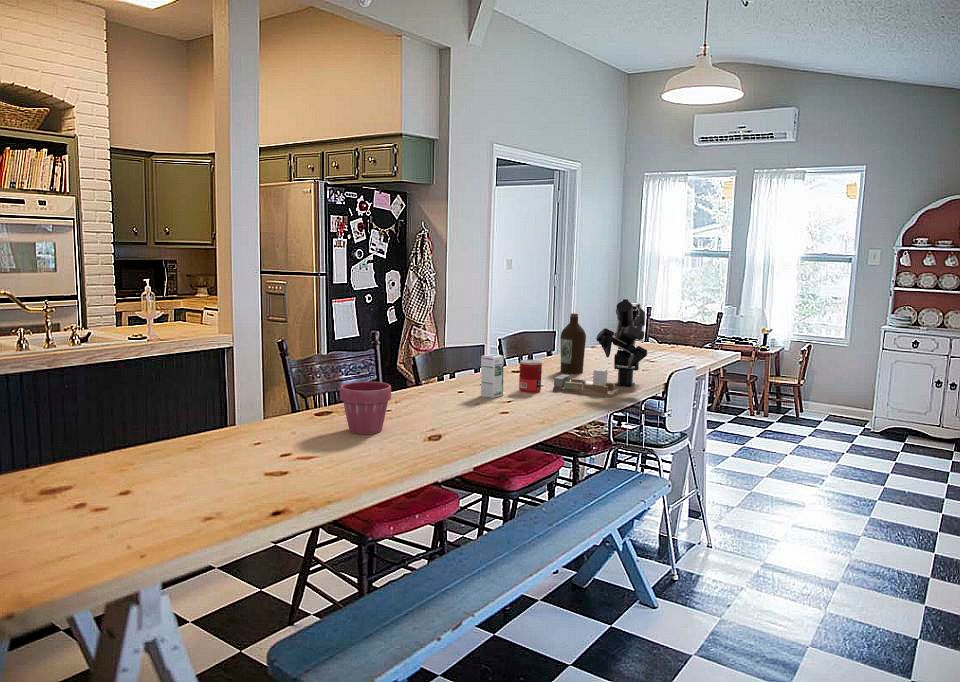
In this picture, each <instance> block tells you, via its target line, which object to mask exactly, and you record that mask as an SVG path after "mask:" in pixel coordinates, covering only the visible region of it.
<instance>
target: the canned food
mask: <svg viewBox="0 0 960 682" xmlns="http://www.w3.org/2000/svg"><path fill="white" fill-rule="evenodd" d="M542 369H543V362H542V361H541V360H538V359H521V360H520V361H519V380H518V382H519V383H518V389H519V391H520V392H521V393H526V392H527V394H528V393H529V394H535V393H536V392H537V393H540V392H541V390H542V375H543V373H542V371H543V370H542Z"/></svg>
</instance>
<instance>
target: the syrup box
mask: <svg viewBox="0 0 960 682" xmlns="http://www.w3.org/2000/svg"><path fill="white" fill-rule="evenodd" d="M480 357H481V358H480V359H481V361H480V362H481V363H480V366H481V367H480V396H481V397H485V398H488V399H489V398H491V399H495V398H499V397H503V396H504V355H502V354H498V353H497V354H495V353H494V354H491V353H490V354H486V355H485V354H484V355H481V356H480Z"/></svg>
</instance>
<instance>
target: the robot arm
mask: <svg viewBox="0 0 960 682" xmlns="http://www.w3.org/2000/svg"><path fill="white" fill-rule="evenodd" d="M615 314H616V318H617V321H618V322H617V327H616V332H614V331H612V330H611V329H608V328H606V327H604V328H603V329H602V330H601V331H600V332H599V333H598V334H597V335H596V338H595V340H596V342H598V344H600V345H601V348H602V350H603V352H604V355H605V356H606V358H607V359H608V358H609V357H610V355H611V349H612V345H614V346H616V347H617V350H616V353H614V358H613V360H614V361H613V362H614V363H613V367H614V370H617V382H614V386H623V387H633V386H635V385H636V382H633V379H634V371H635V372H636V371H639V369H640V366H639V365H640V363H639V362H641V361H642V360H643V359H644V358H645V357H647V356H648V350H647V349H646V348H643V347H641V346H640V345H638V346H635V345H636V342H637V340H638V341H641V340H643V339H644V337H645V331H644V330H643V328H644V327H645V325H646V312H645V310H644V309H642V307H641V303H639V302H630V300H629V299H628V298H627V299H626V298H623V299H622V301H619V302H618V303H617V304H616V309H615Z"/></svg>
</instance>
